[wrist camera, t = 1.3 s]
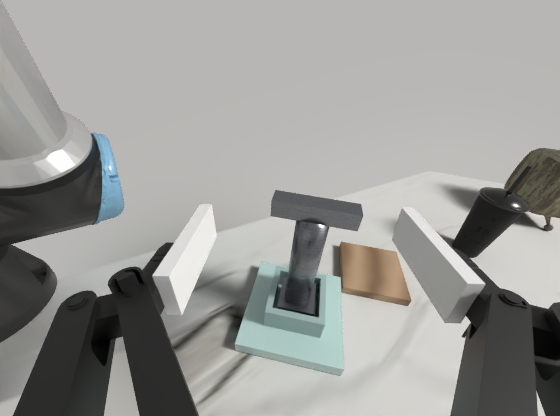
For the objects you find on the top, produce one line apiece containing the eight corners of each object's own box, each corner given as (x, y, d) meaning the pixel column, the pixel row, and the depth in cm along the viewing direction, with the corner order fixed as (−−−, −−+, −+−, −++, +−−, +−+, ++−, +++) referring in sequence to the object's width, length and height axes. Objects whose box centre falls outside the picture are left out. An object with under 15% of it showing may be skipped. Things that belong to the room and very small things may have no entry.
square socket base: (235, 350, 31) (233, 330, 28) (261, 268, 42) (262, 247, 39) (340, 375, 29) (351, 357, 26) (338, 284, 41) (345, 263, 37)
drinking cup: (443, 233, 55) (496, 153, 43) (481, 245, 52) (548, 164, 40) (446, 253, 49) (508, 169, 37) (488, 268, 47) (569, 182, 35)
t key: (262, 315, 33) (268, 208, 22) (269, 285, 37) (278, 183, 26) (324, 328, 32) (364, 225, 21) (325, 297, 36) (359, 196, 25)
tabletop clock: (559, 236, 57) (666, 137, 42) (519, 229, 58) (610, 130, 44) (522, 204, 69) (596, 117, 54) (489, 199, 70) (553, 112, 55)
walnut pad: (341, 292, 39) (343, 286, 38) (339, 246, 48) (341, 241, 47) (407, 305, 38) (411, 300, 37) (393, 256, 47) (396, 251, 46)
